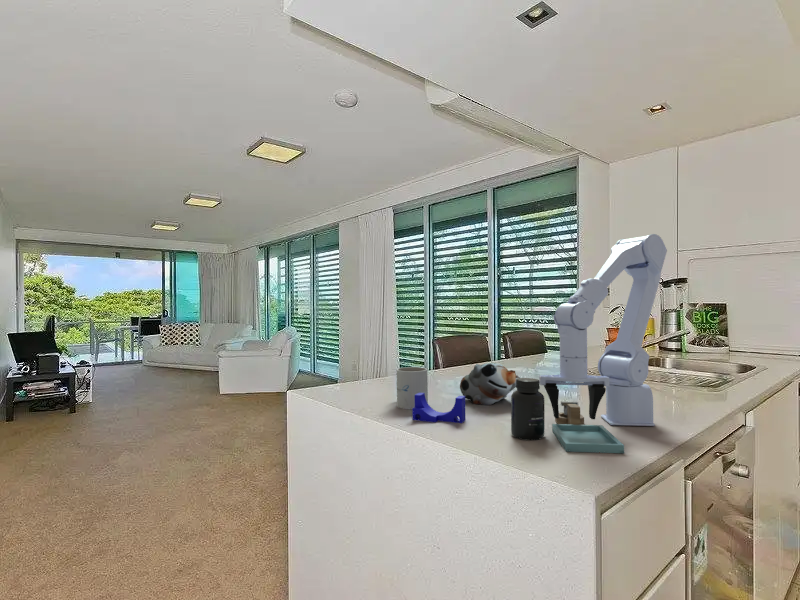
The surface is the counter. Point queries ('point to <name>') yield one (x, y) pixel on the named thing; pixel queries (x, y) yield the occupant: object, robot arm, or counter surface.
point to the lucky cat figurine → (488, 383)
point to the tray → (587, 438)
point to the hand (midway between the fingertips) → (574, 417)
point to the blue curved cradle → (430, 415)
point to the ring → (571, 416)
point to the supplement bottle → (527, 410)
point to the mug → (411, 385)
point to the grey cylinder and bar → (566, 407)
